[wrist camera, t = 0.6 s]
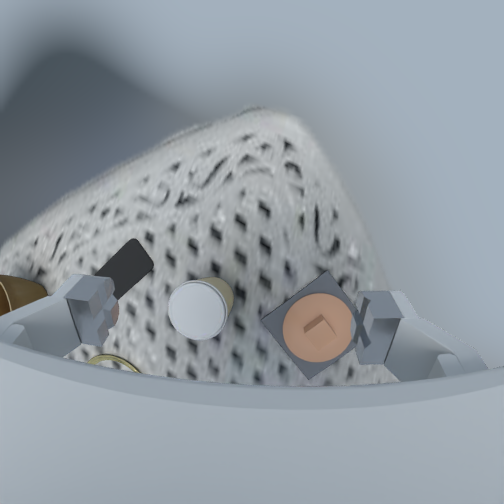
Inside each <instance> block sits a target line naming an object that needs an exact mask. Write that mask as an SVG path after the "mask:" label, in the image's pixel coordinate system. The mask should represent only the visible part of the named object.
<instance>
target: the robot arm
mask: <svg viewBox="0 0 504 504" xmlns="http://www.w3.org/2000/svg"><path fill="white" fill-rule="evenodd" d="M114 290H115V287H114V282H113V280H112V279H111V278H109V277H100V276H91V275H83V274H73V275H72V276H71V277H70V278H69V279H68V280H67V281H66V282H65V283H64V284H63V285H62V286H61V287H60V288H59V289H58V290H57V291H56V292H55V293H54V294H53V295H52V296H46V297H44V298H42V299H39V300H37V301H35V302H32V303H30V304H28V305H25V306H23V307H21V308H18V309H16V310H14V311H11V312H9V313H7V314H4V315H2V316H0V504H504V366H503V367H498V368H493V369H488V367H487V366H486V364H485V363H484V361H483V359H482V358H481V356H480V355H479V353H478V352H477V350H476V349H475V348H473V347H471V346H470V345H468V344H466V343H465V342H463V341H461V340H460V339H458V338H456V337H455V336H453V335H451V334H450V333H448V332H446V331H445V330H443V329H441V328H440V327H438V326H436V325H434V324H432V323H431V322H429V321H428V320H426V319H424V318H419V317H418V315H417V313H416V312H415V310H414V309H413V307H412V305H411V304H410V302H409V301H408V299H407V297H406V296H405V294H404V293H403V292H402V291H359V292H358V294H357V297H356V301H355V303H356V306H357V308H358V309H357V310H356V311H355V312H354V313H353V314H352V319H351V328H350V331H351V337H352V341H353V342H354V343H356V344H357V346H356V350H355V351H356V354H357V358H358V361H359V364H360V365H363V364H384V366H385V367H386V368H387V369H388V370H389V371H390V372H391V373H393V374H394V375H395V376H396V377H397V378H398V379H399V380H400V381H401V382H396V383H384V384H369V385H350V386H264V385H244V384H229V383H216V382H205V381H195V380H186V379H178V378H170V377H162V376H155V375H149V374H142V373H136V372H130V371H124V370H119V369H114V368H108V367H103V366H98V365H94V364H89V363H84V362H80V361H75V360H71V359H67V358H63V357H64V356H65V355H67V354H68V353H70V352H71V351H72V350H74V349H75V348H77V347H78V346H80V345H81V343H82V344H88V345H95V346H101V347H102V345H103V344H104V342H105V340H106V339H107V337H108V336H109V331H108V329H110V328H112V327H113V326H115V324H116V322H117V320H118V315H119V305H118V300H117V299H116V298H115V297H114V296H113V292H114Z"/></svg>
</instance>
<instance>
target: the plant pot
mask: <svg viewBox="0 0 504 504" xmlns="http://www.w3.org/2000/svg"><path fill="white" fill-rule="evenodd" d="M46 296H48V295H47V292H46V290H45V289H44V288H43V286H41V285H40V284H37V283H35V282H32V281H29V280H26V279H22V278H18V277H14V276H8V275H0V316H2V315H4V314H7V313H9V312H11V311H14V310H16V309H18V308H21V307H23V306H25V305H28V304H30V303H32V302H35V301H37V300H39V299H42V298H44V297H46Z"/></svg>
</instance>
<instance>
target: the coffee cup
mask: <svg viewBox="0 0 504 504" xmlns="http://www.w3.org/2000/svg"><path fill="white" fill-rule="evenodd" d="M233 302H234V295H233V291H232V289H231V287H230V286H229V285H228V283H226V282H225V281H224V280H222V279H220V278H216V277H207V278H203V279H198V280H191V281H187V282H184V283H182V284H181V285H179V286H178V287H177V288H176V289H175V290H174V291H173V293H172V294H171V297H170V299H169V303H168V313H169V317H170V320H171V322H172V324H173V326H174V327H175V328H176V330H177V331H178V332H179V333H181V334H182V335H184V336H185V337H187V338H190V339H193V340H207V339H210V338H212V337H214V336H216V335H217V334H218V333H219V332H220V331H221V330H222V329H223V327H224V325H225V323H226V320H227V317H228V315H229V313H230V311H231V308H232V306H233Z"/></svg>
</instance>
